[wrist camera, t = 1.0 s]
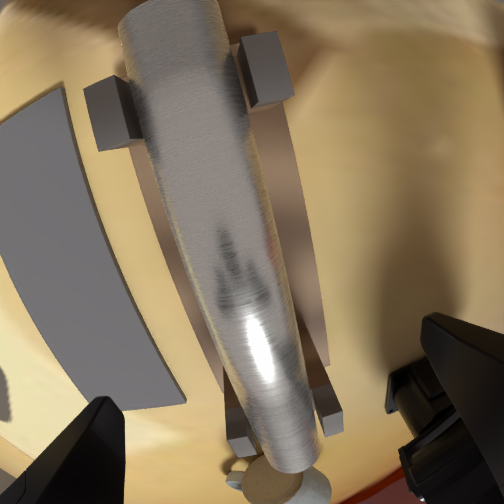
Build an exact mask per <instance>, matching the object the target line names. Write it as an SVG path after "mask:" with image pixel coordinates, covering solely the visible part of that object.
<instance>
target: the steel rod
mask: <svg viewBox="0 0 504 504" xmlns="http://www.w3.org/2000/svg"><path fill="white" fill-rule="evenodd" d="M118 33H119V38H120V43H121V48H122V52H123V57H124V62H125V66H126V71H127V75H128V79H129V84H130V88H131V92H132V96H133V100H134V104H135V108H136V112H137V116H138V120H139V123H140V127H141V131H142V135H143V138H144V142H145V145H146V149H147V152H148V156H149V159H150V163H151V166H152V170H153V173H154V176H155V180H156V183H157V186H158V189H159V192H160V196H161V199H162V202H163V205H164V208H165V211H166V214H167V217H168V220H169V223H170V226H171V229H172V232H173V235H174V238H175V241H176V244H177V247H178V250H179V253H180V256H181V258H182V261H183V264H184V267H185V269H186V272H187V275H188V278H189V280H190V283H191V286H192V288H193V291H194V294H195V296H196V299H197V302H198V304H199V307H200V309H201V312H202V314H203V317H204V320H205V322H206V325H207V327H208V330H209V332H210V334H211V337H212V339H213V342H214V344H215V347H216V349H217V351H218V354H219V356H220V359H221V361H222V363H223V366H224V368H225V370H226V373H227V375H228V377H229V379H230V382H231V384H232V386H233V388H234V391H235V393H236V395H237V397H238V400H239V402H240V404H241V406H242V408H243V410H244V413H245V415H246V417H247V419H248V421H249V423H250V425H251V427H252V429H253V432H254V434H255V436H256V438H257V440H258V442H259V444H260V446H261V448H262V450H263V452H264V454H265V456H266V458H267V460H268V462H269V463H270V465H271V466H272V467H273V468H274V469H276V470H277V471H279V472H282V473H288V474H292V473H299V472H302V471H304V470H306V469H308V468H310V467H311V466H312V465H313V464H314V463H315V462H316V461H317V459H318V457H319V454H320V444H319V438H318V433H317V427H316V421H315V415H314V410H313V404H312V399H311V393H310V388H309V383H308V377H307V372H306V367H305V362H304V357H303V352H302V346H301V341H300V336H299V331H298V327H297V322H296V317H295V312H294V307H293V302H292V297H291V293H290V288H289V283H288V279H287V274H286V269H285V265H284V260H283V256H282V251H281V247H280V242H279V238H278V233H277V229H276V225H275V220H274V216H273V212H272V207H271V203H270V199H269V194H268V190H267V186H266V182H265V178H264V174H263V169H262V165H261V161H260V157H259V153H258V149H257V145H256V141H255V137H254V133H253V129H252V125H251V121H250V117H249V114H248V110H247V106H246V102H245V98H244V94H243V91H242V87H241V83H240V79H239V76H238V72H237V68H236V65H235V61H234V57H233V54H232V50H231V46H230V43H229V39H228V36H227V32H226V29H225V25H224V22H223V18H222V15H221V11H220V8H219V5H218V1H217V0H149V1H146V2H144V3H142V4H140V5H138V6H137V7H135V8H134V9H132V10H131V11H129V12H128V13H127V14H126V15H125V16H124V17H123V18H122V19H121V21H120V22H119V25H118Z"/></svg>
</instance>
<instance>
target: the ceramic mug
mask: <svg viewBox="0 0 504 504" xmlns="http://www.w3.org/2000/svg"><path fill="white" fill-rule="evenodd" d="M226 484H227V485H228V486H230V487H232V488H234V489H236V490H238V491H241V492H243V494H244V496H245V498H246V499H247V500H248V501H249V502H250V503H251V504H329V502H330V499H331V494H332V490H331V485H330V482H329V480H328V478H327V477H326V476H325V475H324V474H323V473H321V472H320V471H318V470H317V469H316V468H314V467H313V466H311V467H310V468H308V469H306V470H304V471H302V472H299V473H292V474H288V473H282V472H279V471H277V470H276V469H274V468H273V467H272V466H271V465H270V463H269V462H268V460H267V458H266V456H265V454H264V455H262V456H260V457H258V458H257V459H255V460H254V461H253V462H252V463H251V464H250V465H249V466H248V468H247V469H246V471H245V472H244V471H231V472H229V474H228V476H227V479H226Z"/></svg>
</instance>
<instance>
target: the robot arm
mask: <svg viewBox="0 0 504 504" xmlns="http://www.w3.org/2000/svg"><path fill="white" fill-rule="evenodd" d="M420 342H421V345H422V348H423V349H424V351H425V353H426V355H427V358H424V359H422V360H420V361H418V362H416V363H414V364H411V365H409V366H407V367H405V368H402V369H400V370H398V371H395V372H393V373H392V374H391V375H390V376H389V385H388V394H387V402H386V410H385V411H386V413H387V414H391V413H394V412H396V411H398V410H399V412H400V414H401V416H402V417H403V419H404V421H405V423H406V424H407V426H408V428H409V430H410V431H411V433H412V435H413V437H414V439H413V440H412V441H410V442H409V443H408V444H406V445H405V446H402V447H401V448H399V449H398V452H399V455H400V456H399V458H400V461H401V465H402V468H403V471H404V475H405V478H406V481H407V485H408V490H409V492H410V493H413V494H415V495H416V497H417V498H419V499H420V500H421V501H425V502H426V503H427V504H504V334H501V333H498V332H495V331H492V330H489V329H486V328H483V327H480V326H477V325H474V324H471V323H468V322H465V321H463V320H460V319H457V318H454V317H451V316H448V315H445V314H442V313H439V312H433V313H431V314H428V315H426V316H424V318H423V320H422V328H421V336H420ZM125 463H126V461H125V418H124V415H123V413H122V411H121V410H120V409H119V408H118V406H117V405H116V404H115V402H114V401H113V400H112V398H111V397H109V396H97V397H95V398H94V399H93V400H92V401H91V402H90V403H89V404H88V405H87V406H86V407H85V408H84V409H83V411H82V412H81V413H80V414H79V415H78V416H77V417H76V418H75V419H74V420H73V421H72V422H71V423H70V424H69V425H68V426H67V427H66V428H65V429H64V430H63V431H62V432H61V433H60V434H59V435H58V436H57V437H56V438H55V440H54V441H53V442H52V443H51V444H50V445H49V446H48V447H47V448H46V449H45V450H44V451H43V452H42V453H41V454H40V455H39V456H38V457H37V458H36V459H35V460H34V461H33V462H32V464H31V465H30V466H29V467H28V468H27V469H26V471H24V472H23V473H22V474H21V475H20V476H19V477H18V478H17V479H16V480H15V481H14V482H13V483H12V484H11V485H10V486H9V487H8V488H7V489H6V490H5V491H4V492H3V493H2V494H1V495H0V504H124V482H125Z"/></svg>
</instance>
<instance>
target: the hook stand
mask: <svg viewBox="0 0 504 504" xmlns="http://www.w3.org/2000/svg"><path fill="white" fill-rule="evenodd" d="M230 46H231V50H232V54H233V57H234V61H235V65H236V68H237V72H238V76H239V79H240V83H241V87H242V91H243V94H244V98H245V102H246V106H247V110H248V114H249V117H250V121H251V125H252V129H253V133H254V137H255V141H256V145H257V149H258V153H259V157H260V161H261V165H262V169H263V174H264V178H265V182H266V186H267V190H268V194H269V199H270V203H271V207H272V212H273V216H274V220H275V225H276V229H277V233H278V238H279V242H280V247H281V251H282V256H283V260H284V265H285V269H286V274H287V279H288V283H289V288H290V293H291V297H292V302H293V307H294V312H295V317H296V322H297V327H298V331H299V336H300V341H301V346H302V352H303V357H304V362H305V367H306V372H307V377H308V383H309V388H310V393H311V399H312V404H313V410H314V411H315V410H316V412H317V415H318V418H319V421H320V424H321V427H322V430H323V432H324V435H325V437H328V436H331V435H334V434H337V433H340V432H343V431H344V428H343V411H342V408H341V406H340V403H339V401H338V399H337V396H336V394H335V392H334V389H333V387H332V385H331V382H330V380H329V378H328V375H327V373H326V371H325V368H324V367H327V366H330V359H329V351H328V343H327V335H326V327H325V320H324V313H323V306H322V299H321V292H320V286H319V279H318V273H317V267H316V261H315V255H314V249H313V243H312V238H311V232H310V227H309V221H308V216H307V211H306V206H305V201H304V196H303V191H302V186H301V181H300V176H299V172H298V167H297V162H296V158H295V153H294V149H293V144H292V140H291V136H290V132H289V127H288V123H287V119H286V115H285V111H284V107H283V103H282V102H283V101H284V100H286V99H288V98H290V97H292V96H294V91H293V87H292V83H291V79H290V76H289V72H288V68H287V65H286V61H285V58H284V54H283V51H282V47H281V44H280V40H279V37H278V34H277V31H274V32H267V33H260V34H254V35H248V36H243V37H241V39H240V43H237V44H232V45H230ZM83 90H84V95H85V99H86V104H87V108H88V113H89V117H90V121H91V125H92V129H93V133H94V137H95V140H96V144H97V148H98V151H99V152H100V151H106V150H112V149H119V148H126V147H129V151H130V154H131V158H132V161H133V165H134V168H135V171H136V175H137V178H138V181H139V184H140V188H141V191H142V194H143V197H144V200H145V203H146V206H147V209H148V212H149V215H150V218H151V221H152V224H153V227H154V230H155V233H156V235H157V238H158V241H159V244H160V247H161V249H162V252H163V255H164V258H165V260H166V263H167V266H168V268H169V271H170V273H171V276H172V279H173V281H174V284H175V286H176V289H177V291H178V294H179V296H180V299H181V301H182V304H183V306H184V308H185V311H186V313H187V316H188V318H189V320H190V323H191V325H192V327H193V330H194V332H195V334H196V337H197V339H198V341H199V343H200V346H201V348H202V350H203V352H204V355H205V357H206V359H207V361H208V363H209V366H210V368H211V370H212V372H213V374H214V376H215V378H216V380H217V382H218V385H219V387H220V389H221V391H222V393H224V401H225V419H226V436H227V441H228V443H229V444H230V446H231V448H232V449H233V451H234V452H235V454H236V455H237V457H238V458H240V457H246V456H252V455H257V451H256V445H255V438H254V432H253V429H252V427H251V425H250V423H249V421H248V419H247V417H246V415H245V413H244V410H243V408H242V406H241V404H240V402H239V400H238V397H237V395H236V393H235V391H234V388H233V386H232V384H231V382H230V379H229V377H228V375H227V373H226V370H225V368H224V366H223V363H222V361H221V359H220V356H219V354H218V351H217V349H216V347H215V344H214V342H213V339H212V337H211V334H210V332H209V330H208V327H207V325H206V322H205V320H204V317H203V314H202V312H201V309H200V307H199V304H198V302H197V299H196V296H195V294H194V291H193V288H192V286H191V283H190V280H189V278H188V275H187V272H186V269H185V267H184V264H183V261H182V258H181V256H180V253H179V250H178V247H177V244H176V241H175V238H174V235H173V232H172V229H171V226H170V223H169V220H168V217H167V214H166V211H165V208H164V205H163V202H162V199H161V196H160V192H159V189H158V186H157V183H156V180H155V176H154V173H153V170H152V166H151V163H150V159H149V156H148V152H147V149H146V145H145V142H144V138H143V135H142V131H141V127H140V123H139V120H138V116H137V112H136V108H135V104H134V100H133V96H132V92H131V88H130V84H129V79H128V76H125V77H123V78H119V77H117V76H115V75H113V76H110V77H108V78H106V79H103V80H101V81H99V82H97V83H95V84H92V85H90V86H88V87H86V88H84V89H83Z"/></svg>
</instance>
